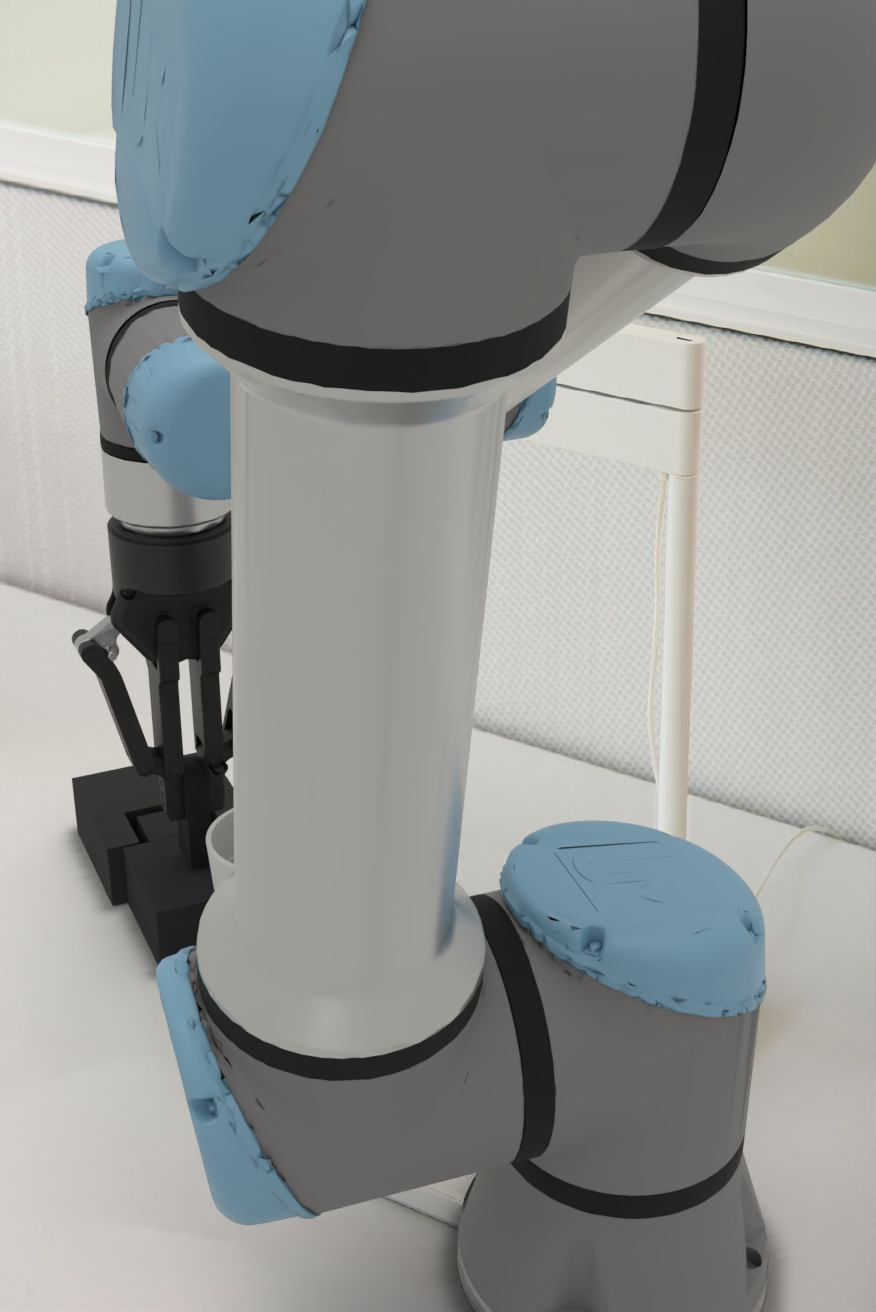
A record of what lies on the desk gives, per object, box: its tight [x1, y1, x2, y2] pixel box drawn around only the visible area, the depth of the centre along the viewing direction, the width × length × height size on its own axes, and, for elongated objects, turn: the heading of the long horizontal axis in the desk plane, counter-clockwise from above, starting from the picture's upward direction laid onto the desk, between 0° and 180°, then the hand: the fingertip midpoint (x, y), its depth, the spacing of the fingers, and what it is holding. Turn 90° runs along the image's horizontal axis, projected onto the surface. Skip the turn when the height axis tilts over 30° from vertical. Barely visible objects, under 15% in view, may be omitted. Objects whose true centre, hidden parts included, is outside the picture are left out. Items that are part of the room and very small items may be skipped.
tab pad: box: [123, 811, 215, 965], centre depth 107 cm, size 11×8×4 cm
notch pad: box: [71, 751, 234, 907], centre depth 113 cm, size 10×10×4 cm
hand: (196, 854), depth 105 cm, fingers closed
